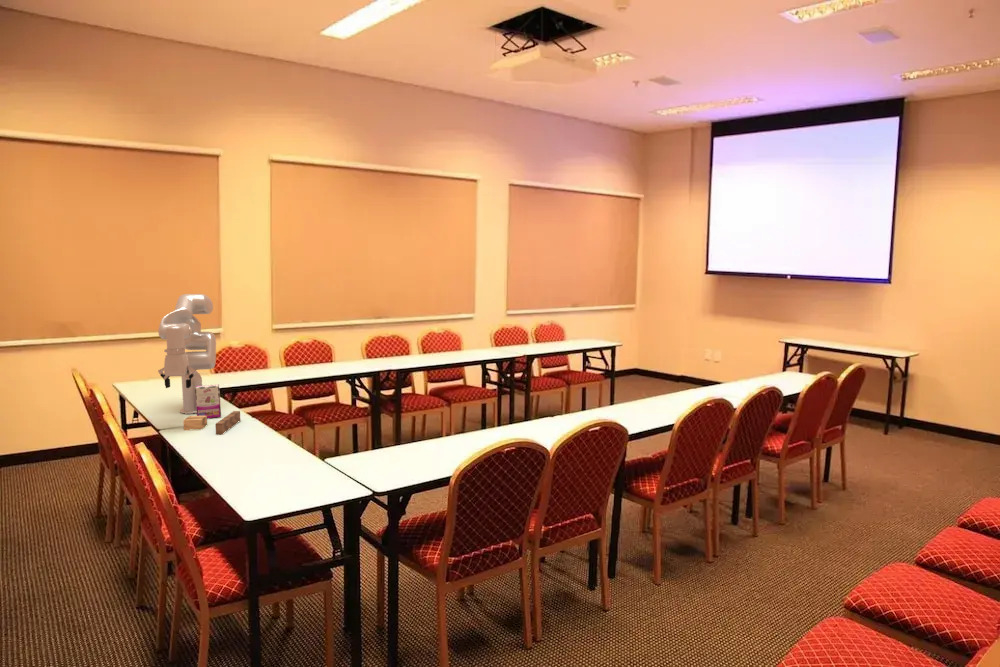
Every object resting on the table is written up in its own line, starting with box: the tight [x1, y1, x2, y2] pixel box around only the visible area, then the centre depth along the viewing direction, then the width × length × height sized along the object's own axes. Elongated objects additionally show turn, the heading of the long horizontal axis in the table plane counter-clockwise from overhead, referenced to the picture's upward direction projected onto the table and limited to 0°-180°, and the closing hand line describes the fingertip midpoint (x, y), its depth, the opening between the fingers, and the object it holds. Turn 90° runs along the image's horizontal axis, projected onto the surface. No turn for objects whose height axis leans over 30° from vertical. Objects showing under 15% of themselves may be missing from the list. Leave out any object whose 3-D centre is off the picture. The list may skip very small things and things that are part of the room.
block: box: [183, 415, 208, 431], centre depth 317 cm, size 8×8×5 cm
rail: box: [215, 410, 241, 435], centre depth 317 cm, size 24×3×5 cm, turn 3°
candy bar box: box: [195, 384, 222, 419], centre depth 335 cm, size 11×5×16 cm, turn 112°
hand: (178, 387), depth 314 cm, fingers open, 9 cm apart
